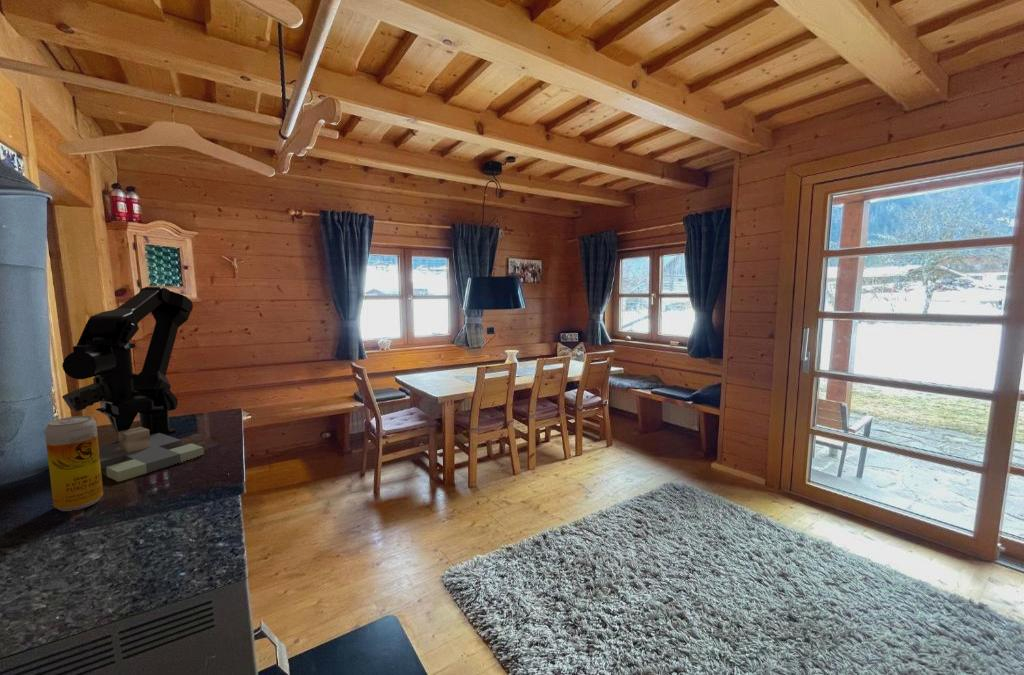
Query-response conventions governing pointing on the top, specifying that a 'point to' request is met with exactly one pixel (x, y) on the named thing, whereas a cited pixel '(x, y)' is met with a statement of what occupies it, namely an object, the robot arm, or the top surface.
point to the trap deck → (145, 457)
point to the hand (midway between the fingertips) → (121, 437)
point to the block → (134, 439)
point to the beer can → (74, 462)
